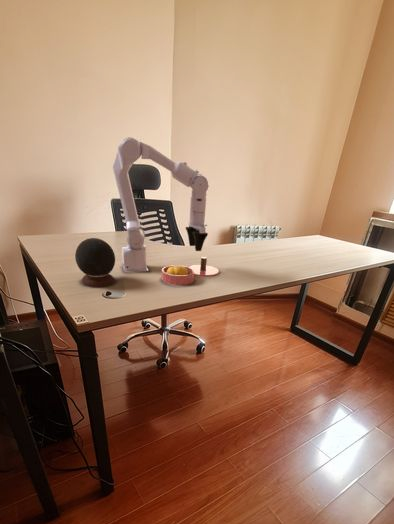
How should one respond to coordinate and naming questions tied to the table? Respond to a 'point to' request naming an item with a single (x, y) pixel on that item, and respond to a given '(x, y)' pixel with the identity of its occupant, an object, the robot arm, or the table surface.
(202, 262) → the lid
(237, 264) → the table surface
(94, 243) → the dark ball on stand
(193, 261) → the table surface
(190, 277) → the pot
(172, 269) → the yellow rounded oblong piece
